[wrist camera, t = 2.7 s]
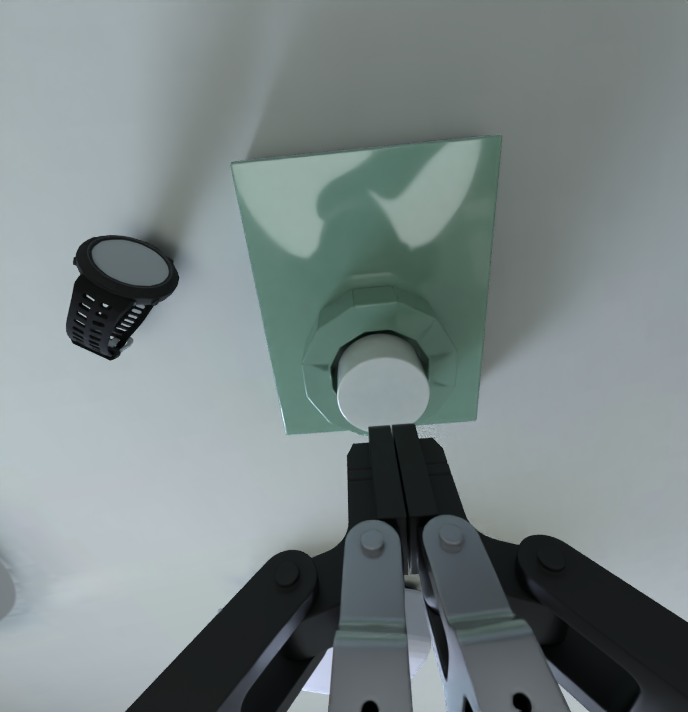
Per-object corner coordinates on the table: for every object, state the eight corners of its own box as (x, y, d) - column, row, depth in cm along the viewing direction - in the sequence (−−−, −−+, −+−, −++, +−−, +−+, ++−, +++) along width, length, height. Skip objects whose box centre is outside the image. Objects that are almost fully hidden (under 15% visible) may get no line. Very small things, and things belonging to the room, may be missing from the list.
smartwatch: (210, 278, 19) (171, 319, 15) (140, 334, 20) (85, 387, 16) (144, 205, 17) (77, 227, 13) (72, 272, 19) (-9, 311, 14)
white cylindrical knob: (333, 336, 16) (332, 361, 14) (421, 329, 16) (431, 353, 14) (341, 407, 18) (341, 437, 16) (420, 401, 18) (429, 430, 16)
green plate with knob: (244, 159, 17) (213, 165, 13) (481, 135, 16) (526, 133, 12) (291, 407, 23) (280, 463, 19) (463, 394, 22) (489, 447, 18)
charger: (234, 549, 29) (421, 584, 31) (216, 616, 33) (382, 642, 35) (216, 617, 25) (434, 652, 27) (198, 683, 29) (388, 708, 31)
